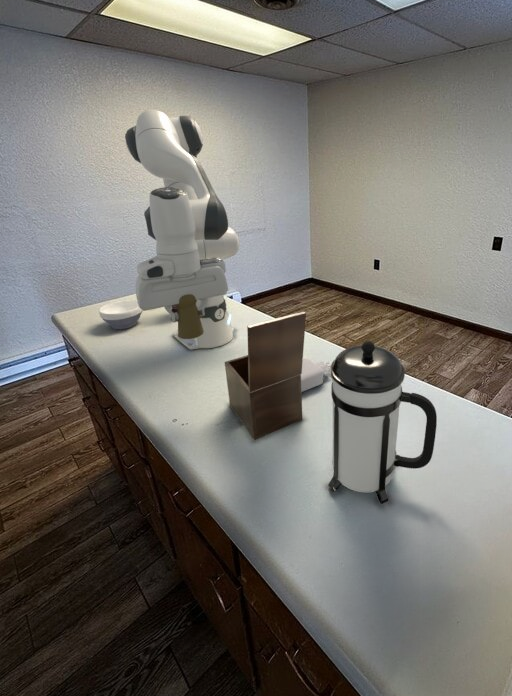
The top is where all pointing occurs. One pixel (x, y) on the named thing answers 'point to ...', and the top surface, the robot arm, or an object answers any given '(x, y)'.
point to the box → (263, 400)
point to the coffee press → (371, 419)
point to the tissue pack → (312, 374)
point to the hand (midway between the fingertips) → (188, 318)
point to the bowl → (121, 314)
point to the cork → (189, 318)
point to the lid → (275, 350)
